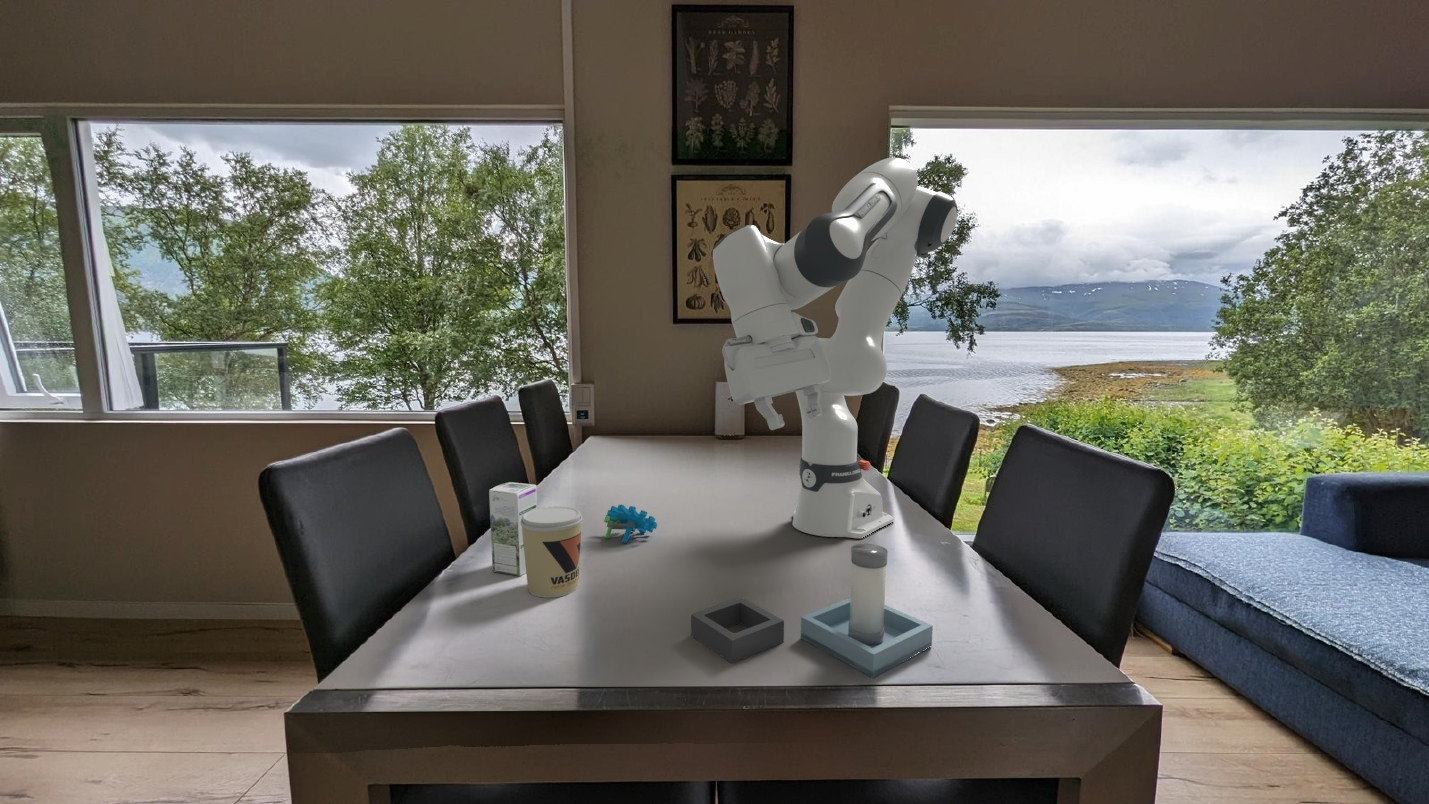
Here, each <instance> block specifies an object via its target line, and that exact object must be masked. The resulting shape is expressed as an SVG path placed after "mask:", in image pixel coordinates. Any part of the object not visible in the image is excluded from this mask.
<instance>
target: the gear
mask: <svg viewBox="0 0 1429 804" xmlns="http://www.w3.org/2000/svg"><path fill="white" fill-rule="evenodd" d="M606 513H607V514H606V515H605V517H604V520H603V522H604V523H606V524H607V525H606V528H607V531H606V533H605V535H604V536H605V537H604V538H605V539H606V540H607V539H609V538H610V535H611V533H612V530H625V531H624V534H623V538H622V540H621V542H622V544H628V541H629V538H630V536H631V533H632V532H636V530H637V531H639V533H640V534H645V533H647V532H649V533H654V530H656V529H657V528H658V523H657V522H655V521H656V518H655V517H654V516H652V515H649V516H648V511H645V510H643V509H641V510H640V512H639V513H638V511H637V507H636V506H634V505H633V506H631V505H629V507H628V508H627V507H626V506H625V505H624V504H618V505H617V506H616V505H611V507H610V509H608V510H607V512H606ZM647 516H648V517H647Z"/></svg>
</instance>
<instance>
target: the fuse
mask: <svg viewBox="0 0 1429 804" xmlns="http://www.w3.org/2000/svg"><path fill="white" fill-rule="evenodd" d="M850 549H851V550H850V562H851V563H850V564H851V566H850V567H851V568H850V593H849V595H850V596H849V598H850V619H849V626H848V636H849V637H851V638H853V639H855V640H857V641H859V642H861V643H863V644H865V645H867V646H875V645H879V644H881V643H882V642H883V641H884V606H885V605H886V604H885V603H886V601H885V600H886V580H887V578H886V576H887V565H888V552H889V551H888V550H887V549H886V548H885V547H884V546H882V545H878V544H874V543H873V544H872V543H857V544H853V545H852V546H851V548H850Z"/></svg>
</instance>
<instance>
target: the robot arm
mask: <svg viewBox="0 0 1429 804" xmlns="http://www.w3.org/2000/svg"><path fill="white" fill-rule="evenodd" d="M918 181H919V179H918V175H917V173H916V171H915V168H914V167H913V166H912V165H911V164H910V163H909V162H908V161H906V160H905V159H903V158H900V157H887V158H884V159H881V160H878V161H877V162H875V163H873V164H871V165H869V166H867V167H866V168H864V169H863V170H861V171H860V172H859V173H858V174H856V175H855V176H853V178H851V179H849V181H848V182H847V183H846V184H845V185H844V186H842V187H843V188H842V189H841V190H840V191H839V192H838V194H837V195H836V197H835V199H834V200H833V202H832V205H831V212H826V213H822V214H819V215H817V216H815V217H814V218H813V219H812V220H811V221H809V222H808V224H806V225H805V226H804V227H803V228H802V230H801V231H799V232H798V233H796V234H795V235H794V236H793V237H792V238H790V239H789V240H788V241H786V243H782V242H781V243H780V242H777V241H774V240H773V239H770V238H768V237H767V236H765V235H764V234H762V233H761V232H760V230H759V229H758V227H757V226H756V225H753V224H750V225H749V224H748V225H743V226H741V227H737V228H736V229H734V230H732V231H730V232H729V233H727V234H726V235H724V236H723V237H722V238H721V239H720V240H719V241H718V242H717V243H716V244H715V245H714V247H713V249H712V260H713V261H712V262H713V267H714V272H715V276H716V280H717V283H718V286H719V289H720V292H721V295H722V298H723V300H724V301H725V303H726V304H727V306H728V308H729V312H730V315H731V316H730V317H731V324H732V327H733V329H734V334H735V336H736V338H735V337H731V338H728V339H726V340H725V342H724V344H723V346H722V349H721V353H722V356H723V359H724V363H723V364H724V371H725V376H726V380H727V381H726V382H727V386H728V389H729V392H730V396H731V398H732V400H733V401H734V402H735V403H736V404H737V405H738V406H742V405H746V404H750V403H754V406H755V409H756V411H757V412H759V414H760V415H762V417H763V418H764V419H765V420H766V422H767V425H768V428H769V430H771V431H774V430H777V429H781V428H783V427H784V426H785V424H786V423H785V421H784V416H783V414H782V413H780V414H778V413H777V411H776V410H775V408H774V407H773V405H772V404H774V401H773V399H772V398H773V397H778V396H782V395H786V394H790V393H794V392H795V394H796V398H797V401H798V406H799V409H800V410H799V412H800V416H801V425H802V427H801V428H802V442H801V443H802V444H801V445H802V447H801V448H802V449H801V451H802V453H801V455H802V456H801V457H800V460H799V466H798V467H799V473H798V475H799V477H800V481H799V483H798V489H797V496H796V503H795V504H796V505H795V510H794V511H793V512H792V517H793V519H792V526H793V528H795V529H796V530H797V531H800V532H802V533H806V534H808V535H814V536H819V537H830V538H835V537H836V538H850V539H851V538H853V539H864V538H866V537H868V536H870V535H872V534H873V533H872V532H874V531H876V530H877V529H879V528H880V527H883V526H885V525H886V524H888V523H889V522H891V521H892V520H894V521H895V518H894V517H893V516H892V515H890V514H889V513H887V512H884V511H883V508H884V507H883V498H882V495H881V493H880V492H879V491H878V490H877V489H875V487H873V486H872V485H871V484H870V483H868V481H866V480H865V479H864V478H863V474H862V470H863V471H865V472H868V471H870V469H871V463H870V461H869V460H864V459H863V460H862V459H860V460H859V461H858V460H857V458H858V457H857V454H858V430H859V428H858V423H857V421H856V419H855V417H854V415H853V414H852V413H851V412H850V410H849V407H848V406H847V405H848V404H847V401H846V399H845V398H846V397H845V396H847V397H854V396H856V397H857V396H863V395H868V394H869V395H870V394H872V393H874V392H876V391H877V390H878V389H879V388H880V387H881V386H882V385H883V383H884V381H885V378H886V375H887V366H888V365H887V359H886V356H885V354H884V352H883V349H882V343H883V342H882V341H883V336H884V333H885V329H886V327H887V324H888V323H889V320H890V319H891V317H892V315H893V312H894V310H895V309H896V307H897V305H898V303H899V301H900V299H901V298H902V295H903V293H904V291H905V289H906V287H907V285H908V283H909V282H910V278H911V275H912V272H913V269H914V265H915V263H916V257H917V258H923V257H925V256H927V254H928V253H930V252H934V251H936V250H938V249H939V248H940V247H942V246H943V245H944V244H945V243H946V242H948V239H949V238H950V236H951V235H952V234H953V231H954V229H955V228H956V225H957V221H958V211H959V210H958V205H957V201H956V199H954V198H953V197H951V196H950V195H948V194H946V193H944V192H941V191H937V192H936V191H934V190H931V189H929V188H926V187H922V186H920V185H918V184H919V182H918ZM874 240H875V241H874ZM872 241H874V242H873V243H872V244H871V242H872ZM870 244H871V245H870ZM844 283H846V284H845V286H844V287H843V288H842V291H841V292H840V294H839V296H838V299H837V300H836V302H835V305H834V306H835V307H834V309H835V313H836V316H837V317H838V318H837V319H838V321H837V325H836V326H837V327H836V329H835V332H833V334H832V336H831V337H829V338H827V337H826V338H825V337H824V338H823V337H817V336H816V334H818V333H819V329H818V326H817V323H816V322H815V321H814V320H813V319H811V318H807V317H805V316H802V315H801V314H798V313H796V312H794V311H795V310H798V309H800V308H803V307H804V306H806V305H808V304H809V303H811V302H813V301H814V300H816V299H818V298H819V297H821V296H822V295H824V294H826V293H827V292H829V291H830V290H832V289H834V288H835V287H837V286H839V285H842V284H844ZM876 532H877V531H876ZM871 533H872V534H871ZM874 533H875V532H874ZM869 534H870V535H869ZM867 535H868V536H867ZM865 536H866V537H865ZM863 537H864V538H863Z"/></svg>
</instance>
